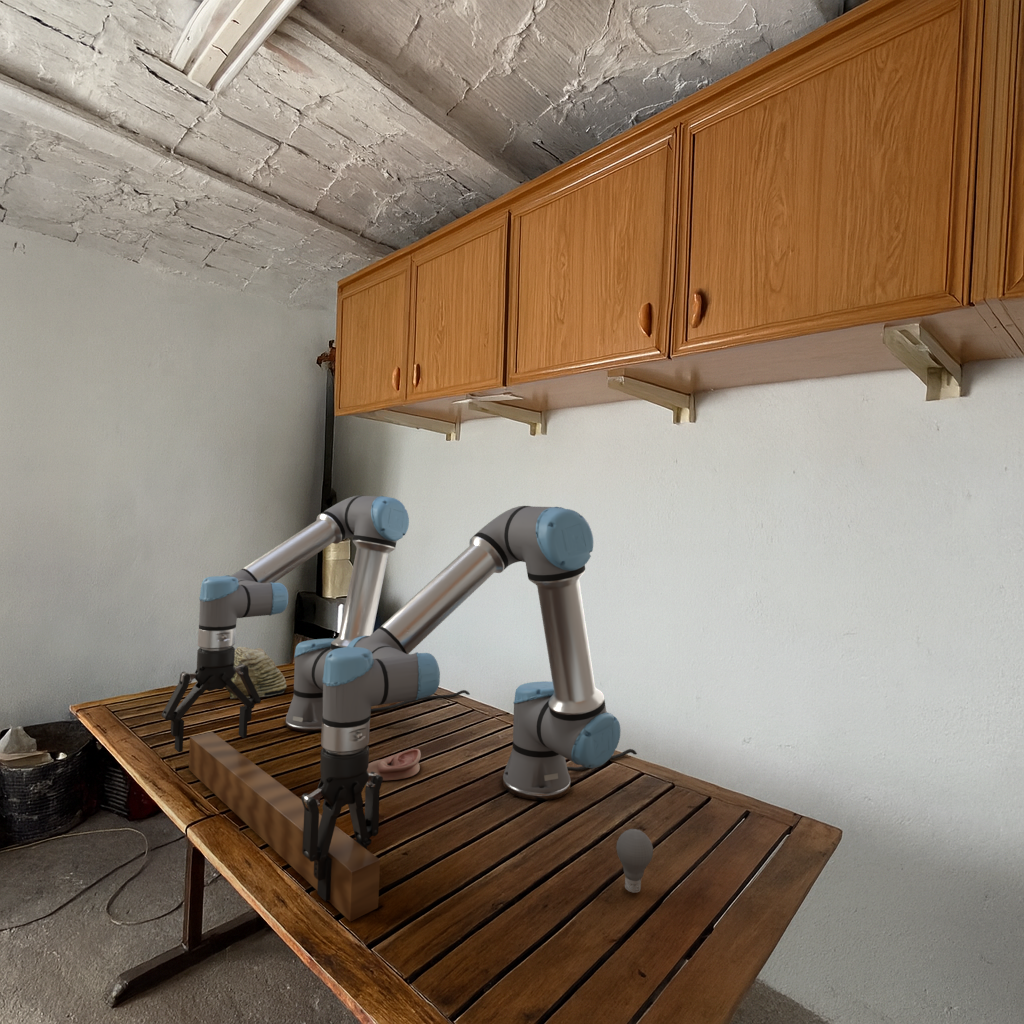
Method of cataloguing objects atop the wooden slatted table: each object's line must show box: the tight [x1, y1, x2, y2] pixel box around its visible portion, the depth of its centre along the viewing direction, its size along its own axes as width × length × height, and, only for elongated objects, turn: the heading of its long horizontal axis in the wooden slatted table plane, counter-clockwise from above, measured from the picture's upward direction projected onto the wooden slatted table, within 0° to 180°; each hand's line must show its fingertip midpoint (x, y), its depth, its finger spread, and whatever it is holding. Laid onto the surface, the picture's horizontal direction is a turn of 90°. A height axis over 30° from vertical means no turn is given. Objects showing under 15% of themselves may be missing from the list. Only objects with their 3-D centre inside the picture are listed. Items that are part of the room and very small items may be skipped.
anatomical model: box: [367, 748, 422, 781], centre depth 147 cm, size 13×4×12 cm
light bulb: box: [615, 828, 654, 894], centre depth 106 cm, size 6×6×10 cm
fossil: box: [224, 646, 288, 699], centre depth 198 cm, size 9×18×15 cm, turn 132°
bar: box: [188, 731, 381, 923], centre depth 121 cm, size 69×5×8 cm, turn 45°
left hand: (211, 743), depth 140 cm, fingers open, 13 cm apart
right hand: (339, 889), depth 102 cm, fingers closed on bar, 5 cm apart
